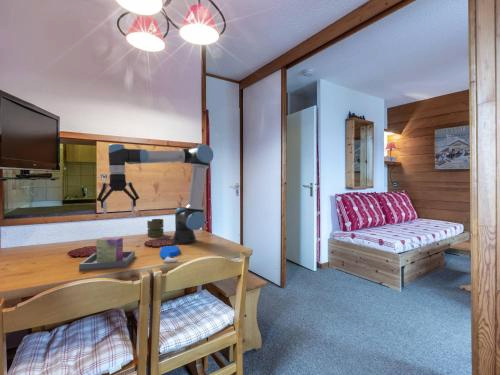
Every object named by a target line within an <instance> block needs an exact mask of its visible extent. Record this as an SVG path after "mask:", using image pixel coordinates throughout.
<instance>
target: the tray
mask: <svg viewBox="0 0 500 375" xmlns="http://www.w3.org/2000/svg"><path fill="white" fill-rule="evenodd" d="M135 256H136V251H135V250H132V251H131V250H129V251H128V250H127V251H123V260H122V261H113V262H97V252H94V253H93V254H91V255H90V256H88V257H87V258H86V259H84V260H83V261H81V262H80V263H78V270H79V271H80V272H81V271H92V270H93V271H94V270H111V269H123V268H125V269H126V268H127V267H128V266H129V264H131V262H132V261H133V259H134V258H135Z"/></svg>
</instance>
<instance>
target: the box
mask: <svg viewBox="0 0 500 375" xmlns="http://www.w3.org/2000/svg"><path fill="white" fill-rule="evenodd" d="M123 242H124V238H123V237H108V236H107V237H106V236H105V237H100V238H98V239H96V253H97V262H113V261H122V260H123V252H124V247H123V246H124V243H123Z"/></svg>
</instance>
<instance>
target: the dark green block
mask: <svg viewBox="0 0 500 375" xmlns="http://www.w3.org/2000/svg"><path fill="white" fill-rule="evenodd" d="M146 222H147V238H150V239H151V238H153V239H154V238H160V237H161V238H163V237H164V233H165V232H164V219H163V218H153V219H151V220H147V221H146Z"/></svg>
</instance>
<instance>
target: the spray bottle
mask: <svg viewBox="0 0 500 375" xmlns="http://www.w3.org/2000/svg"><path fill="white" fill-rule="evenodd" d="M180 252H181V250H180V247H179V246H177V245H167V246H162V247H161V248H160V250H159V257H161V259H163V260H162V263H163V264H164V263H167V264H168V263H177V262H179V259H178V258H177V257H175V256H178V255H179V254H180ZM173 257H174V258H173Z"/></svg>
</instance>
